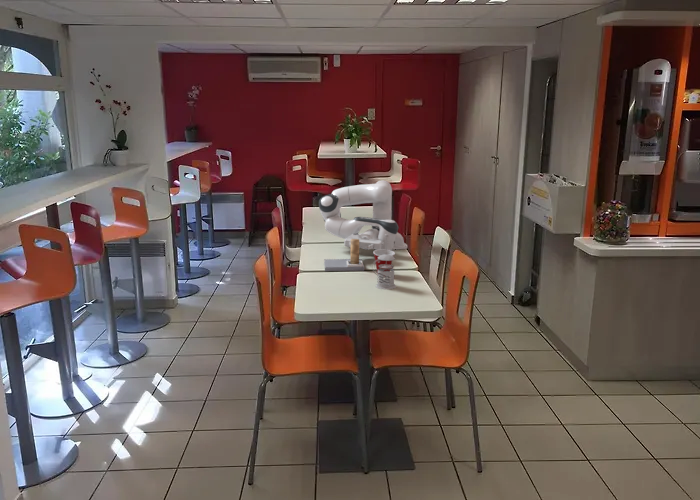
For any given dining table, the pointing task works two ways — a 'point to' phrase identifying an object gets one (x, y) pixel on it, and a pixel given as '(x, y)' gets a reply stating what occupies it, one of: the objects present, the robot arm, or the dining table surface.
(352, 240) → the oak column
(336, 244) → the dining table surface
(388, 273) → the french press
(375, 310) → the dining table surface
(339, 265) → the board
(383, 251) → the plastic cup
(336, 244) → the dining table surface
